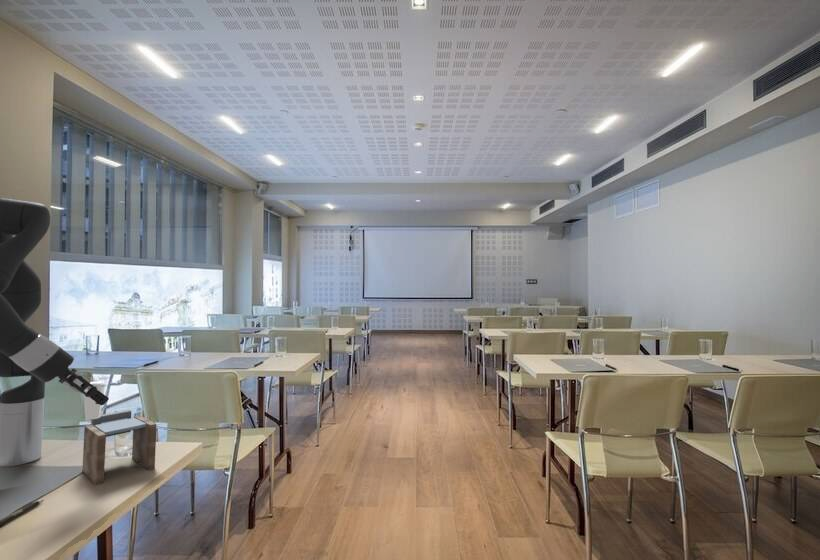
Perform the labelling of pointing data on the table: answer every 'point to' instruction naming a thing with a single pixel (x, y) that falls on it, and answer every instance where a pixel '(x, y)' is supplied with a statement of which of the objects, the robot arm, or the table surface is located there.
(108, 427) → the trapdoor
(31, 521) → the table surface
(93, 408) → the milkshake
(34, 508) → the table surface
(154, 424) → the stand
